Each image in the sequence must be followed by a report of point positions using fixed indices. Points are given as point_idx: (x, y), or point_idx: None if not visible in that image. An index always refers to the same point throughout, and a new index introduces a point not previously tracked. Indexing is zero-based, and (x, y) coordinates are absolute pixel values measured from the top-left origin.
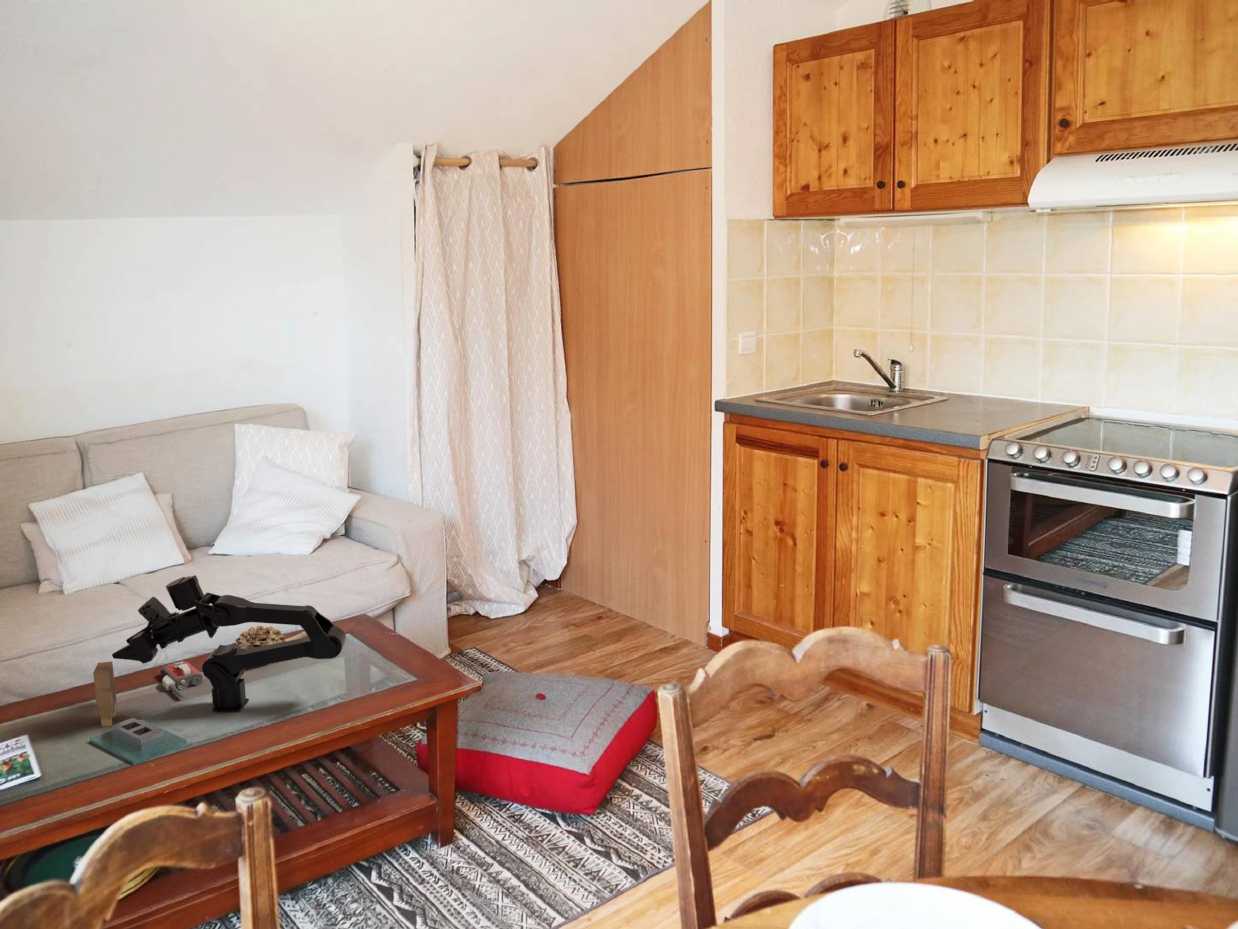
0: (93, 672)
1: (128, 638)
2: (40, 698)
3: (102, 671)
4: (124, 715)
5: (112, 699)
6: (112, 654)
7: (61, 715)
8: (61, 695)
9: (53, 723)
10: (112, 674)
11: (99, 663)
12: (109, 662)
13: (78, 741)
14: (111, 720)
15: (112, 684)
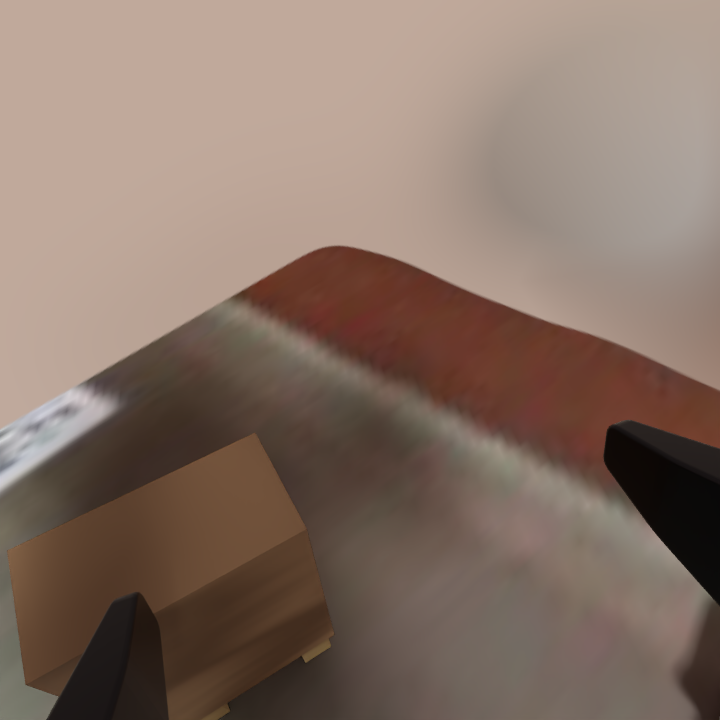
0: (9, 551)
1: (635, 438)
2: (405, 266)
3: (19, 628)
4: (341, 702)
5: (204, 697)
6: (108, 609)
7: (292, 406)
8: (447, 300)
9: (217, 427)
10: (268, 597)
11: (245, 450)
12: (276, 520)
13: (3, 683)
14: (207, 718)
15: (238, 642)
